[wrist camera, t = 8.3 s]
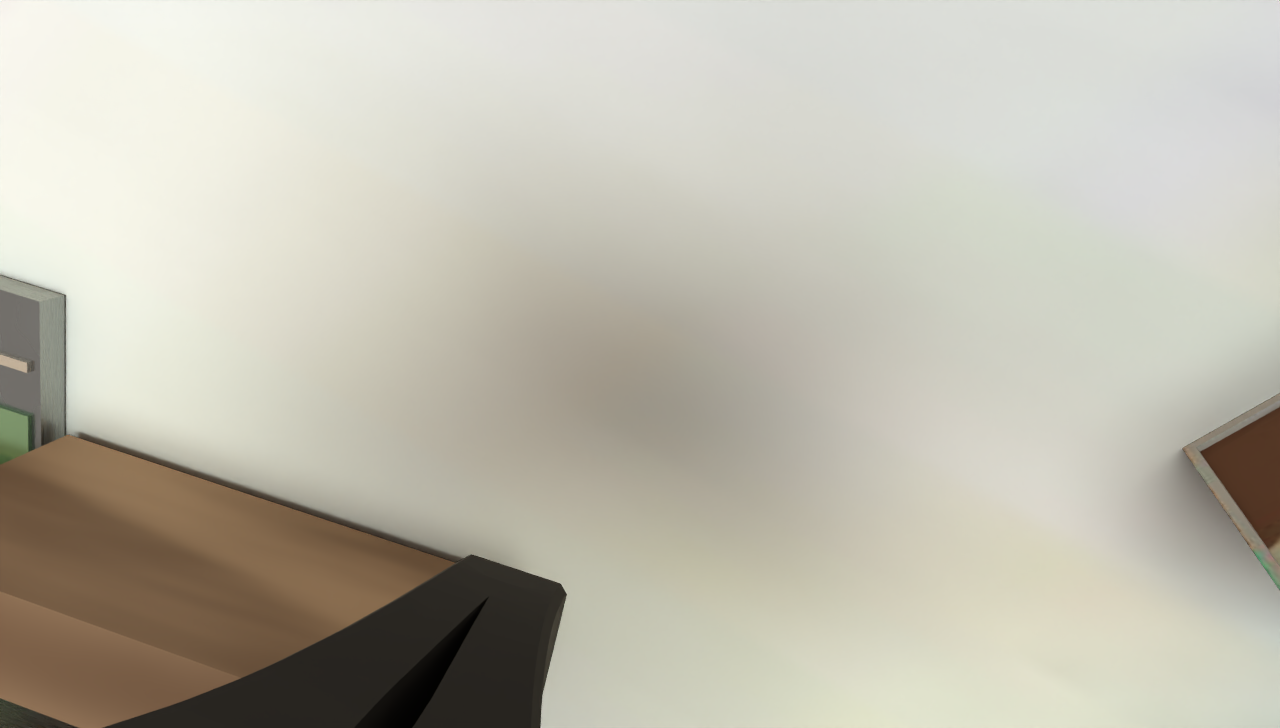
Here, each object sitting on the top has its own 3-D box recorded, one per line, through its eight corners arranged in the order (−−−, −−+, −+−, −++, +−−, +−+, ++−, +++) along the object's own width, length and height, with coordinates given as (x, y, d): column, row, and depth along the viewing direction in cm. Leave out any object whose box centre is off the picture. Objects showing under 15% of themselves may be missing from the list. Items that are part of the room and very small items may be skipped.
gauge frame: (511, 792, 25) (442, 949, 21) (-37, 594, 28) (-212, 695, 23) (591, 458, 21) (528, 557, 17) (-54, 258, 24) (-268, 297, 19)
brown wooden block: (502, 672, 24) (404, 849, 18) (-33, 488, 26) (-271, 596, 20) (521, 584, 23) (424, 743, 17) (-37, 400, 25) (-288, 488, 19)
